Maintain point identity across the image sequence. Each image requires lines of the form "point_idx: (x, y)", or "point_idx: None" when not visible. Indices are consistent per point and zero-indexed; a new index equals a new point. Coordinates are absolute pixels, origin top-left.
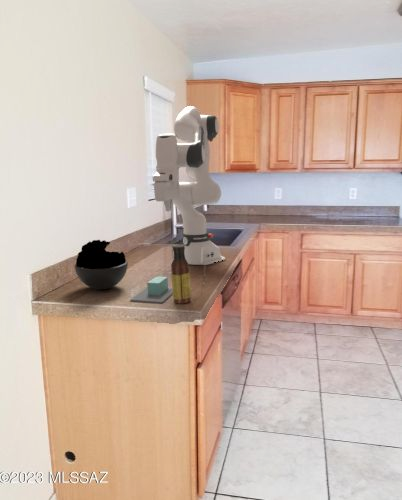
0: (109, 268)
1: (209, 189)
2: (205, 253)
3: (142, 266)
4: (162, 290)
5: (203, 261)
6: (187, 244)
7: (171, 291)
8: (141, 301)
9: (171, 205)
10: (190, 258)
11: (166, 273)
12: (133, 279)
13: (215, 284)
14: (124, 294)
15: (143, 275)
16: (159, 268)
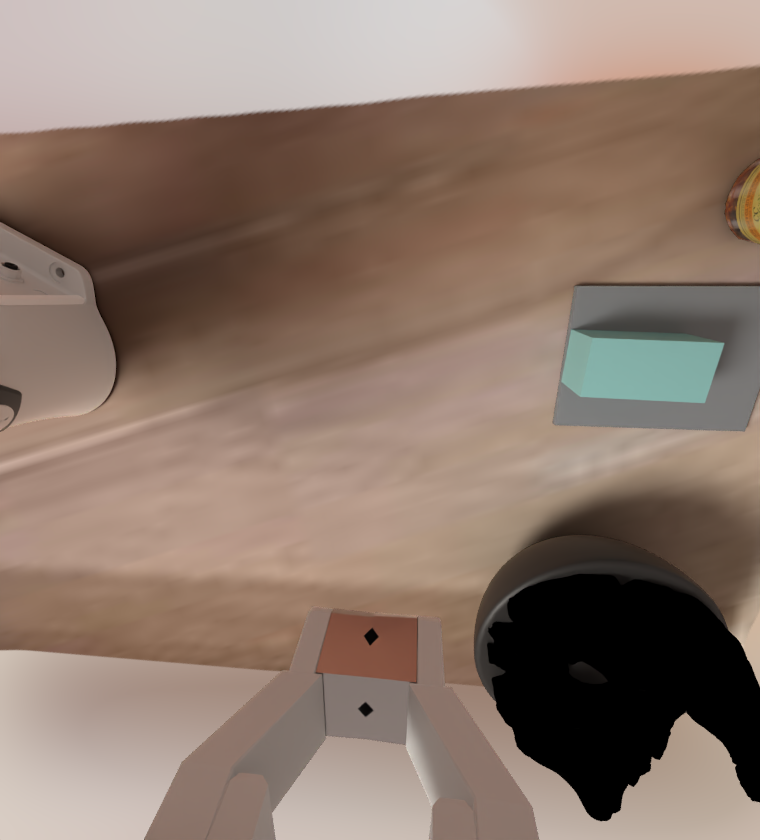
0: (708, 601)
1: None
2: (8, 285)
3: (218, 542)
4: (650, 333)
5: (64, 292)
6: (13, 400)
7: (622, 297)
8: (757, 383)
9: (309, 690)
10: (85, 361)
11: (297, 418)
12: (419, 514)
13: (446, 103)
14: (638, 480)
15: (352, 497)
16: (226, 470)
